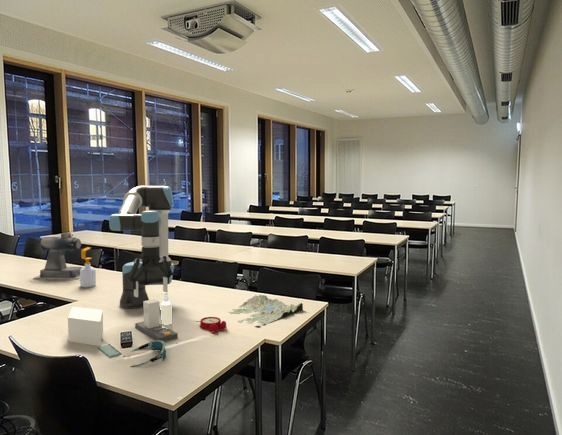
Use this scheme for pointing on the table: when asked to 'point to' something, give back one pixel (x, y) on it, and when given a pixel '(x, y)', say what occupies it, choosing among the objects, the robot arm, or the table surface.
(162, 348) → the sunglasses
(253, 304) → the topographic map model
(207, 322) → the alarm clock
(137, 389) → the table surface
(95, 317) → the white rectangular block
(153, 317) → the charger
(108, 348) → the felt mat
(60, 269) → the grinder
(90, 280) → the soap bottle
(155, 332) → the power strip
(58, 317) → the table surface
